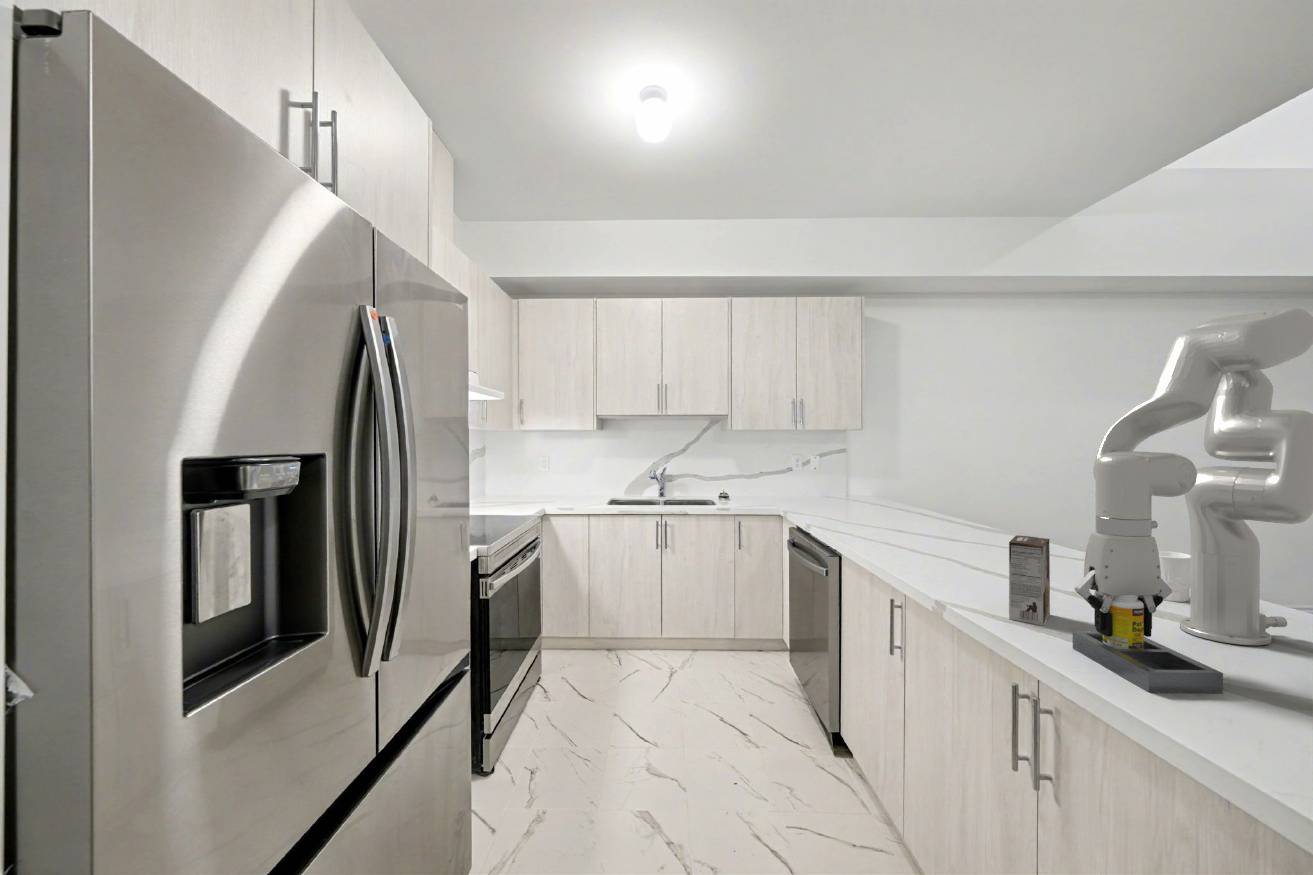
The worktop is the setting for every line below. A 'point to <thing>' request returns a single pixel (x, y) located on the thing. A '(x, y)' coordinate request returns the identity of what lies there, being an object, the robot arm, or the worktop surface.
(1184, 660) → the dark grey divided tray
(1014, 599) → the coffee box
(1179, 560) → the white cup
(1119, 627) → the supplement bottle
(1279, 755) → the worktop surface
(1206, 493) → the robot arm
